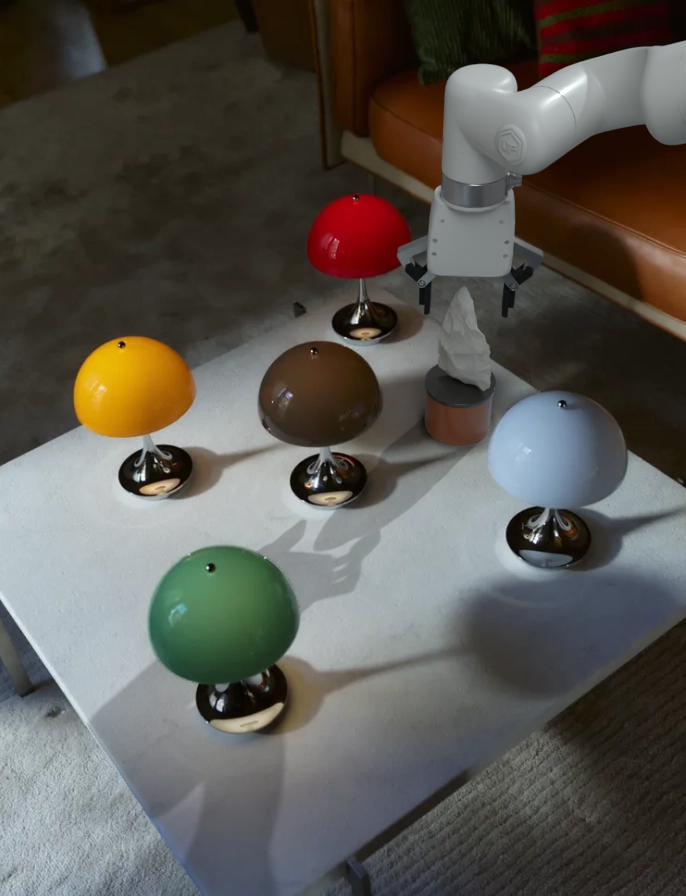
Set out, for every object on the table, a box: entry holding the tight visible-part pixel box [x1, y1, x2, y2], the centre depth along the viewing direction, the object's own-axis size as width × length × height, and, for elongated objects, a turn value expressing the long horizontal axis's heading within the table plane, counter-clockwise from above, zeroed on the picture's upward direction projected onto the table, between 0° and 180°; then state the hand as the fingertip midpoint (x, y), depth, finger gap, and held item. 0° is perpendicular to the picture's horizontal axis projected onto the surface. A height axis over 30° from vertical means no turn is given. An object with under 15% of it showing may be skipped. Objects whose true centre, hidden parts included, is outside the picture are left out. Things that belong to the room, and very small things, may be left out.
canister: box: [424, 363, 497, 447], centre depth 130 cm, size 10×10×8 cm
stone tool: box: [437, 286, 492, 391], centre depth 122 cm, size 8×3×15 cm, turn 49°
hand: (465, 309), depth 119 cm, fingers open, 9 cm apart
